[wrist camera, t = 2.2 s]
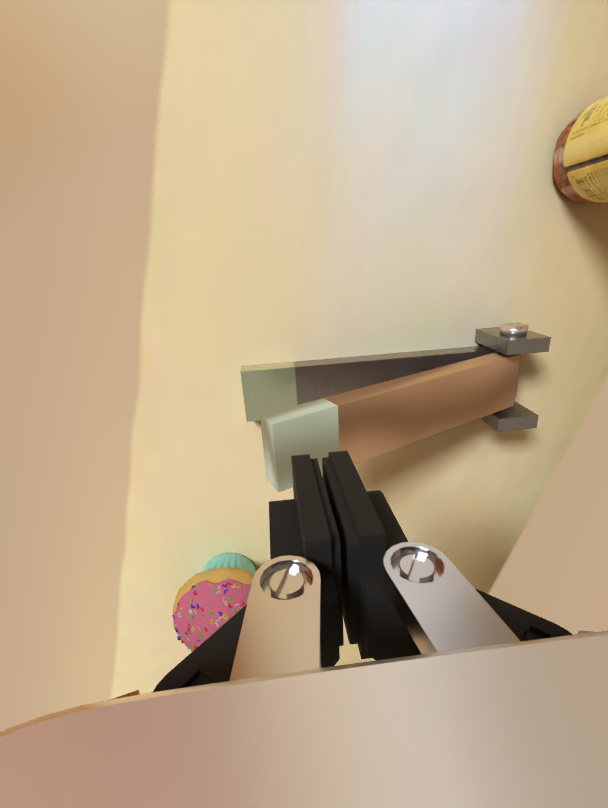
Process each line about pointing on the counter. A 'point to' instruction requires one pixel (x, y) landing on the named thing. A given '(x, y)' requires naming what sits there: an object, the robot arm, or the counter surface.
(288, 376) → the base
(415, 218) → the counter surface
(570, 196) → the sauce bottle
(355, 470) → the robot arm
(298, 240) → the counter surface
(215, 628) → the cupcake
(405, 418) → the bar
